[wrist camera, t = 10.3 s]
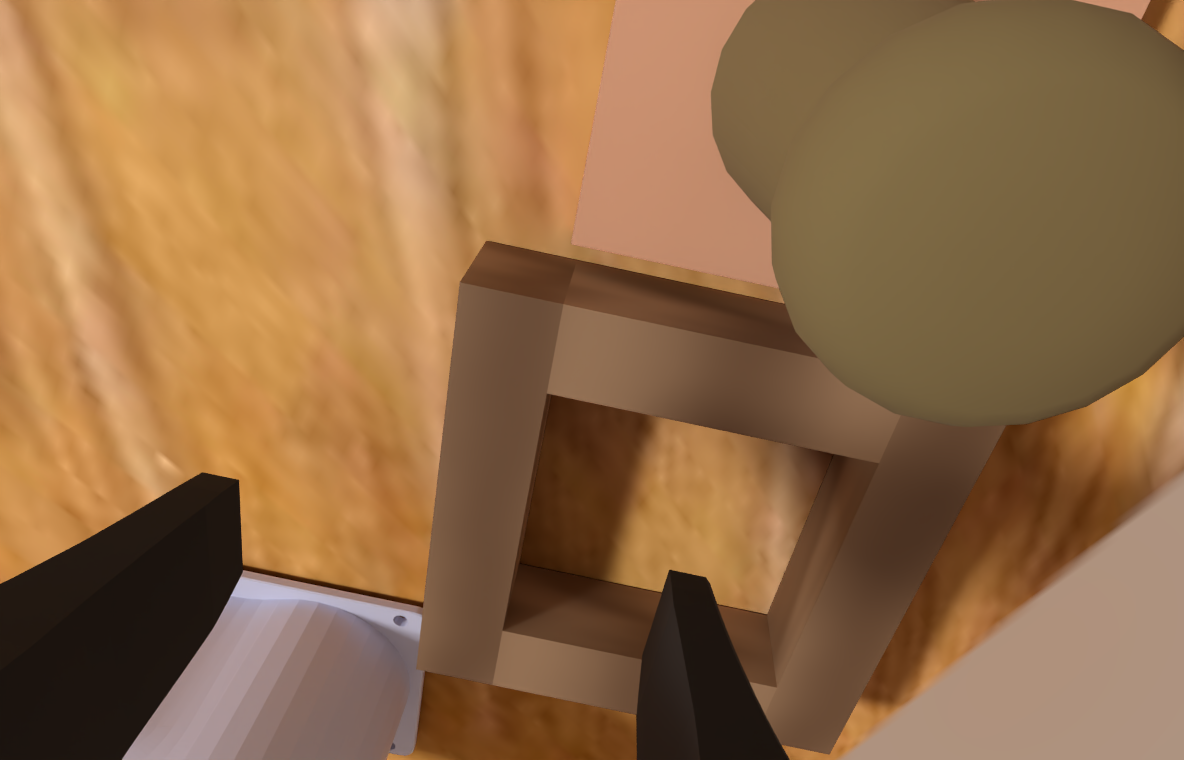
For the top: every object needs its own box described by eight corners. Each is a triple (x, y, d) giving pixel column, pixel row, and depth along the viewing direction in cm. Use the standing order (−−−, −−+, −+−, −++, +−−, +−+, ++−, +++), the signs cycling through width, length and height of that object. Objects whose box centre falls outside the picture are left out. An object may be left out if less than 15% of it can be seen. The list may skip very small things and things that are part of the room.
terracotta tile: (574, 233, 21) (571, 244, 20) (671, -292, 16) (671, -303, 15) (977, 320, 21) (987, 332, 20) (1212, -172, 16) (1237, -178, 15)
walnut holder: (440, 601, 28) (415, 669, 25) (486, 240, 21) (460, 282, 19) (814, 678, 28) (829, 754, 25) (977, 345, 21) (1019, 400, 19)
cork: (850, -121, 16) (1115, -220, 6) (1044, 78, 17) (1499, 242, 8) (656, 120, 19) (636, 306, 9) (838, 275, 20) (990, 580, 10)
